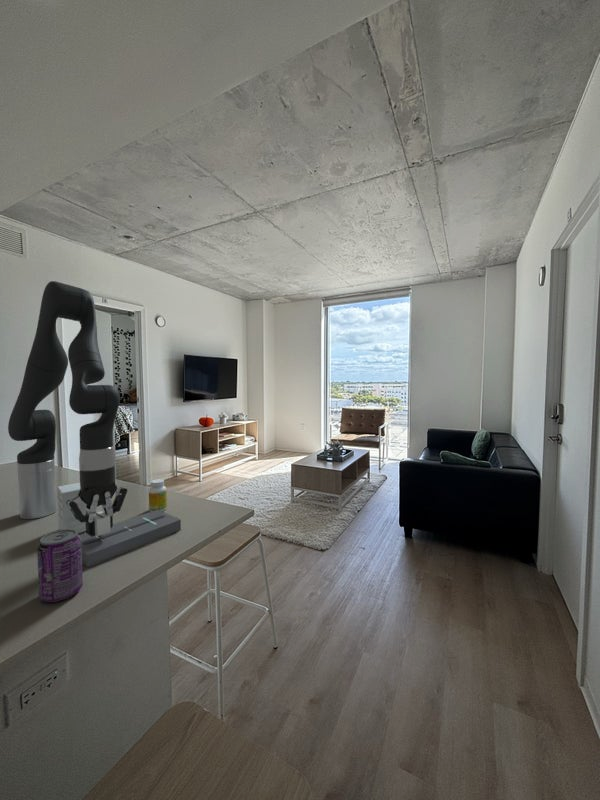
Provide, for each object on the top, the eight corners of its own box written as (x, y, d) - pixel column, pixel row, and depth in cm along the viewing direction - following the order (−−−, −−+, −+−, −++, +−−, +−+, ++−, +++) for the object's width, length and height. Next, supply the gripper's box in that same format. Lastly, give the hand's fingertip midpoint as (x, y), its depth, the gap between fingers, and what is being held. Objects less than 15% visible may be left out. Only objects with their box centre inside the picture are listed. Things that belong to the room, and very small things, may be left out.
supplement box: (88, 521, 100) (86, 480, 99) (94, 529, 94) (93, 486, 94) (58, 529, 95) (56, 486, 94) (63, 538, 89) (61, 492, 89)
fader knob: (89, 536, 83) (88, 514, 83) (101, 531, 86) (101, 510, 85) (97, 542, 80) (97, 519, 80) (110, 537, 83) (110, 515, 82)
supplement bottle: (160, 513, 106) (159, 484, 105) (145, 512, 107) (144, 482, 106) (170, 507, 111) (169, 479, 111) (155, 505, 112) (155, 478, 112)
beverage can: (54, 583, 69) (52, 528, 69) (89, 582, 70) (88, 527, 69) (30, 606, 62) (27, 545, 62) (69, 604, 63) (67, 543, 62)
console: (68, 551, 83) (67, 539, 82) (158, 519, 102) (157, 509, 102) (87, 567, 75) (87, 554, 75) (180, 529, 95) (180, 519, 94)
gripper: (119, 457, 90) (121, 519, 91) (58, 468, 78) (61, 539, 79) (133, 462, 85) (135, 527, 86) (70, 474, 74) (73, 548, 75)
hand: (99, 532), depth 83 cm, fingers closed on fader knob, 3 cm apart
